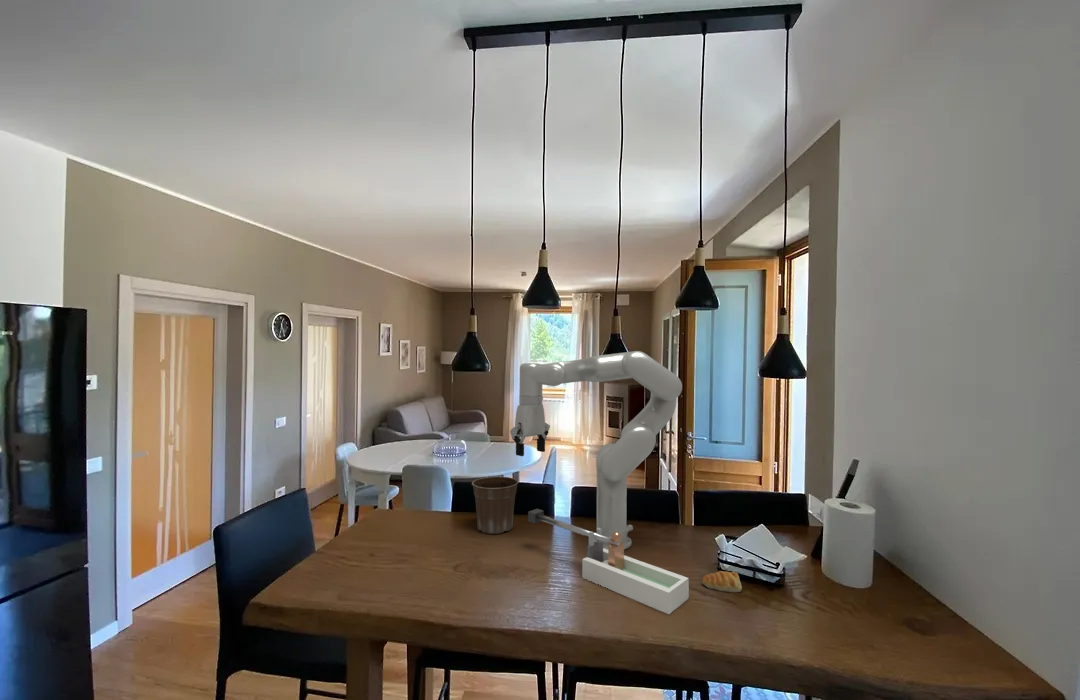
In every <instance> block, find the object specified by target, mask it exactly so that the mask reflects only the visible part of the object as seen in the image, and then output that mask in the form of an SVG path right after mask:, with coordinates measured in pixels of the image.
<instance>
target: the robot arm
mask: <svg viewBox="0 0 1080 700" xmlns="http://www.w3.org/2000/svg"><path fill="white" fill-rule="evenodd" d="M626 379H633V380H635V381H636V382H637V383H638V384H640V385H641V386H643V387H644V388H646V389H647V390H649V391H650V399H649V400H648V402H647V404H646V405H645V406H644V408H642V410H641V411H640V412H639V413H638V414H637V415H635V417H633V419H631V420H630V421H629V422H628V423H627V424H626V425H624V427H623V428H622V430H621V433H620V438H619V439H618V440H617V441H616V442H615V443H613V442H612V443H605V444H603V445H602V446H601V447H600V448H599V450H598V451H597V453H596V459H595V467H596V469H595V470H596V529H597V528H601V529H602V535H603V536H607V537H610V538H611V534H612V533H613V532H615V531H617V532H619V533H620V534H621V536H622V539H621V541H620V542H622V543H624V550H626V549H629V548H630V547H631V546H632V539H631V538H630V537H629V536H628V534H629V532H631V531H633V530H634V526H633V525H632V524H627V494H628V493H627V492H628V491H627V490H628V488H627V487H628V485H627V484H628V483H627V477H629V475H631V473H632V472H633V471H635V469H636V468H638V466H640V464H641V463H642V462H644V461H645V460H646V458H648V456H649V455H651V453H652V451H653V450H654V449H655V445H656V436H657V435H658V434H659V433H660V432H661V430H663V428H664V427H665V426H666V425H668V423H669V421H670V420H671V419H672V418H673V416H674V413H675V410H676V407H677V399H678V397H680V395H681V394H682V390H683V382H682V380H681V379H680V378H679V376H677V375H676V374H675V373H674V372H672V371H671V370H669V369H668V368H666V367H665V366H664V365H662V364H661V363H659V362H658V361H656V360H655V359H654V358H652V357H651V356H649V355H648V354H647V353H645V352H643V351H641V350H634V351H627V352H618V353H617V352H616V353H610V354H609V353H608V354H601V355H595V356H588V357H586V358H582V359H581V358H580V359H574V360H565V361H559V362H557V361H556V362H549V363H536V362H531V363H530V362H529V363H528V362H526V363H522V364H520V366H519V405H517V406H516V412H515V420H514V426H513V427H512V428H511V429H510V430H509V433H510V435H511V438H512V440H513V442H514V443H515V455H516V456H519V457H524V456H525V443H523V442H524V440H525V439H526V438H528V437H529V438H530V437H534V436H537V439H536V451H537V452H542V453H545V451H546V440H547V436H548V434H549V430H550V428H551V425H550V424H549V423H546V418H545V409H544V404H543V401H544V396H543V385H544V386H549V387H557V386H559V385H561V384H569V383H578V382H579V383H580V382H590V383H599V382H601V383H602V382H611V381H616V380H618V381H619V380H626ZM596 541H597V540H596V539H594V542H596ZM609 545H611V544H608V543H605V542H603V549H604V548H605V549H608V546H609Z"/></svg>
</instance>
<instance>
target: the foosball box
mask: <svg viewBox="0 0 1080 700" xmlns="http://www.w3.org/2000/svg"><path fill="white" fill-rule="evenodd" d="M589 531H590V532H589V537H588V545H586V557H584V558H582V563H581V564H582V568H581V569H582V574H581V575H582V576H581V577H582V579H585V580H586V579H587V581H589V582H591V581H592V582H591V583H593V582H594V584H596V585H598V584H599V585H598V586H600V585H601V587H603V588H605V587H606V589H607V588H608V590H610V591H613V592H614V593H617V594H620V595H622V596H625V597H627V598H629V599H632V600H633V601H636V602H638V603H640V604H642V605H646V606H648V607H650V608H652V609H654V610H657V611H659V612H662V613H664V614H666V615H671V614H672V613H673V612H674V611H675V610H676V609H678V608H679V607H680V606H681V605H683V604H684V603H685V602H686V601H687V600H689V597H690V594H689V592H690V590H689V587H690V586H689V583H690V582H689V580H690V579H689V577H686V576H684V575H681V574H679V573H675V572H673V571H669V570H668V569H667V570H666V569H664V568H662V567H659V566H656V565H653V564H650V563H647V562H644V561H641V560H638V559H635V558H633V557H631V556H628V555H625V554H624V568H623V569H622V570H620V569H617V568H615V567H612V566H610V565H607V564H604V563H602V562H603V561H605V560H608V549H605V548H604V549H603V542H602V541H599V540H597V541H596V542H594V533H595V532H594V531H591V530H589ZM596 533H597V534H600V535H602V529H601V528H597V527H596Z"/></svg>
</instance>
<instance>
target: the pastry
mask: <svg viewBox="0 0 1080 700" xmlns="http://www.w3.org/2000/svg"><path fill="white" fill-rule="evenodd" d="M701 583H702V585H703V586H705V587H706V588H708V589H711V590H715V591H718V592H727V593H729V592H730V593H741V591H743V587H742V581H741V580H740V576H739V574H738V572H735V571H731V572H730V571H727V570H726V571H723V570H719V571H717V572H713V573H712V572H710V573H708V574H706V575H705V574H704V576H702V579H701Z"/></svg>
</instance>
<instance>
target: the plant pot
mask: <svg viewBox="0 0 1080 700" xmlns="http://www.w3.org/2000/svg"><path fill="white" fill-rule="evenodd" d="M518 484H519V480H517V479H516V478H513V477H508V476H485V477H479V478H477V479H475V480H472V482H471V486H472V489H473V495H474V498H475V499H474V500H475V510H476V511H475V512H476V521H477V522H476V524H477V525H476V526H477V527H476V528H477V531H479V532H482V533H483V534H488V535H496V534H503V533H504V532H507V531H508V532H509V531H511V530H512V529H513V524H514V523H513V522H514V510H515V499H516V494H517V487H518Z"/></svg>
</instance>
